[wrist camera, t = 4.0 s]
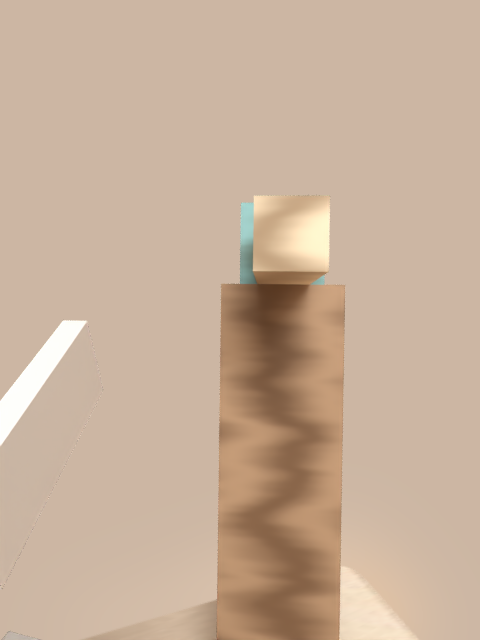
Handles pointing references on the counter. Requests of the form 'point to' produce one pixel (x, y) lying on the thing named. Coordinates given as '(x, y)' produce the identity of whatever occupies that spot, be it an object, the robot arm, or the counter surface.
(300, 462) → the stand
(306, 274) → the mallet
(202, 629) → the counter surface
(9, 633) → the die
